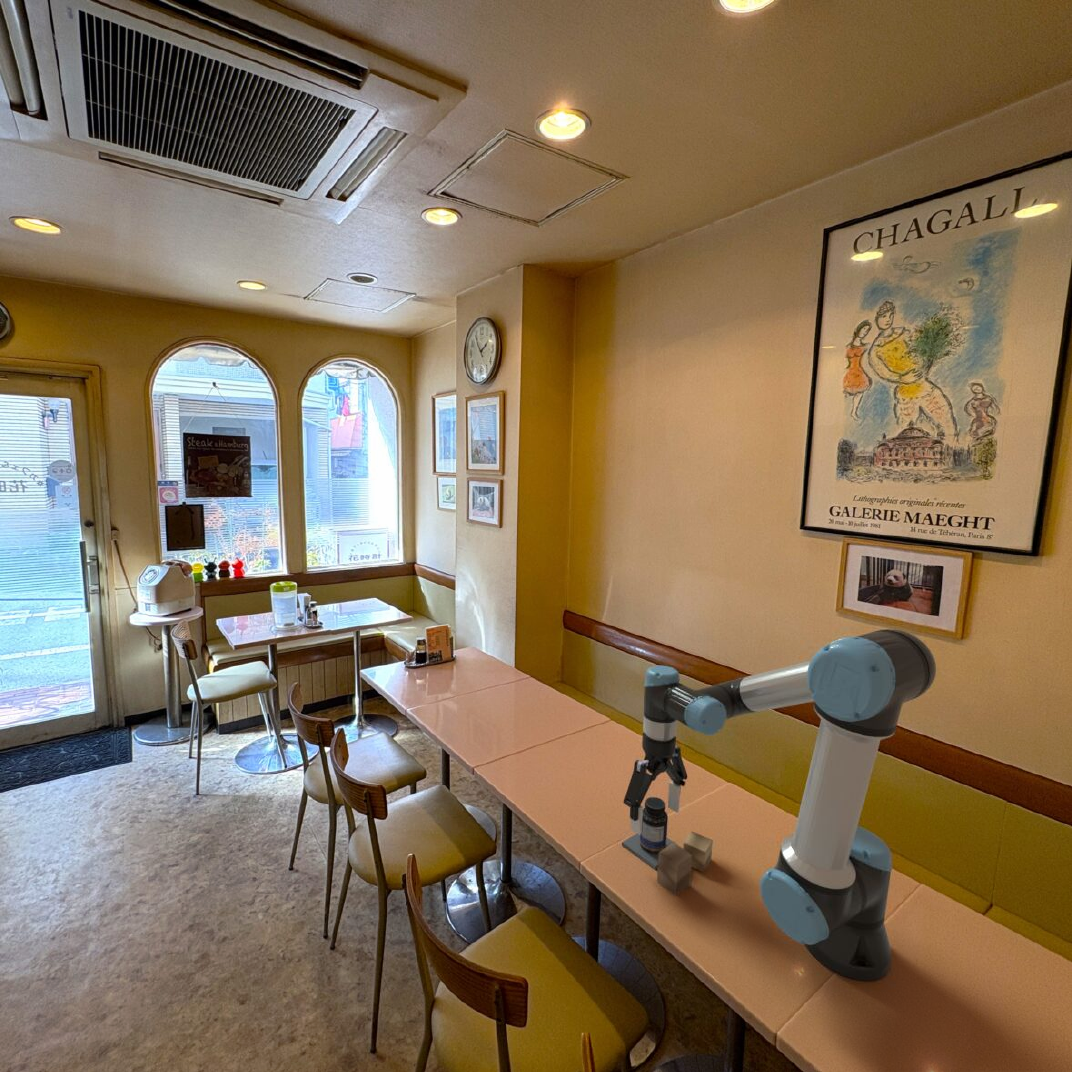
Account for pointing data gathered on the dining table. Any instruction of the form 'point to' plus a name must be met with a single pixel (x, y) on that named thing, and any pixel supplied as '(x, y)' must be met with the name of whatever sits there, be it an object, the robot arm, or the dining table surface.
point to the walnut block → (674, 868)
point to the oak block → (699, 850)
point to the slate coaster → (637, 850)
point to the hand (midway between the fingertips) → (655, 820)
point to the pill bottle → (654, 825)
